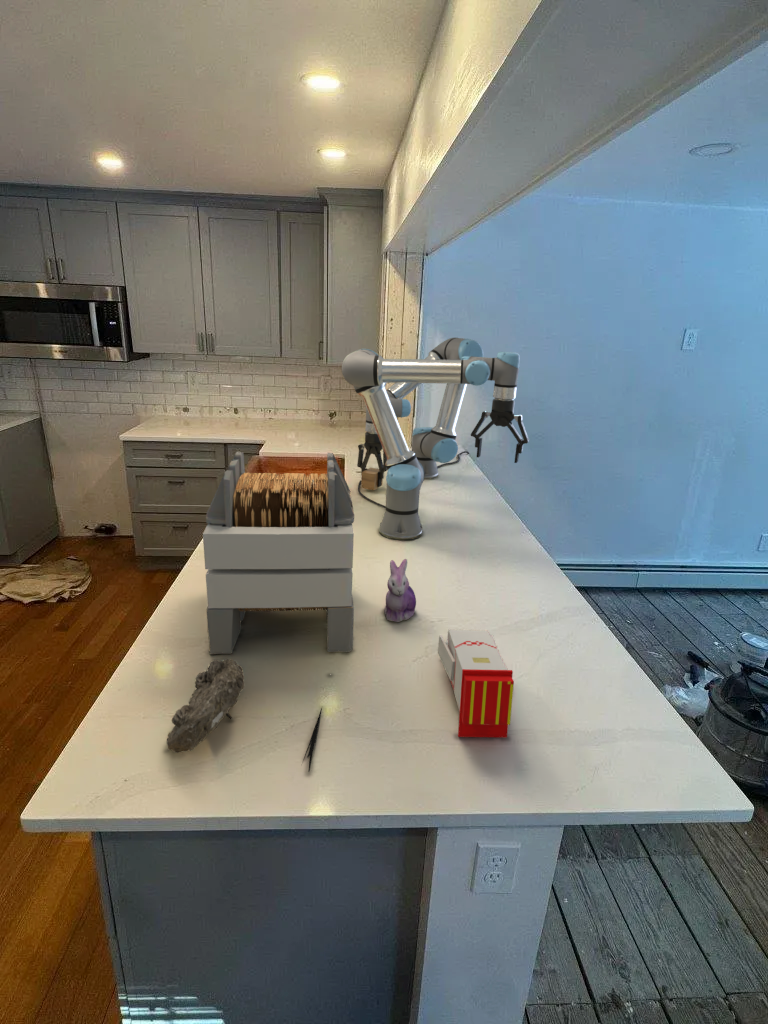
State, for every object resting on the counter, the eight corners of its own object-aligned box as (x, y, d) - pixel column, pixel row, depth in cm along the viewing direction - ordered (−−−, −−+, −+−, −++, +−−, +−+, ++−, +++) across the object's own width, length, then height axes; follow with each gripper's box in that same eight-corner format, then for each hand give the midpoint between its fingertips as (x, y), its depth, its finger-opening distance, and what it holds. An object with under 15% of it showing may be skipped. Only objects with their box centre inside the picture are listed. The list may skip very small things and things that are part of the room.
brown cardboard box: (374, 490, 241) (374, 474, 239) (361, 488, 243) (361, 472, 241) (382, 485, 249) (383, 469, 246) (369, 483, 251) (370, 467, 248)
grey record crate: (229, 585, 158) (221, 442, 144) (346, 584, 161) (350, 444, 148) (206, 656, 126) (193, 481, 112) (353, 652, 130) (358, 483, 116)
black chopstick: (331, 679, 122) (336, 673, 122) (307, 777, 96) (313, 769, 95) (324, 675, 122) (329, 669, 121) (298, 772, 95) (304, 764, 95)
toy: (488, 613, 130) (523, 677, 101) (484, 667, 133) (517, 744, 104) (435, 612, 130) (455, 676, 101) (432, 666, 133) (451, 743, 103)
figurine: (392, 627, 141) (395, 572, 136) (374, 608, 149) (376, 556, 144) (425, 619, 145) (429, 566, 140) (405, 601, 154) (408, 550, 149)
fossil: (192, 660, 117) (244, 628, 112) (224, 691, 120) (276, 661, 115) (142, 746, 98) (202, 712, 93) (182, 779, 101) (242, 748, 96)
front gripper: (542, 401, 193) (534, 462, 200) (471, 394, 202) (466, 452, 209) (538, 404, 186) (530, 466, 193) (465, 396, 195) (460, 456, 203)
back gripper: (398, 433, 238) (395, 486, 245) (357, 428, 245) (356, 479, 253) (391, 436, 231) (388, 490, 239) (349, 430, 238) (348, 483, 246)
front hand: (497, 459), depth 201 cm, fingers open, 13 cm apart
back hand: (372, 484), depth 246 cm, fingers closed on brown cardboard box, 6 cm apart
